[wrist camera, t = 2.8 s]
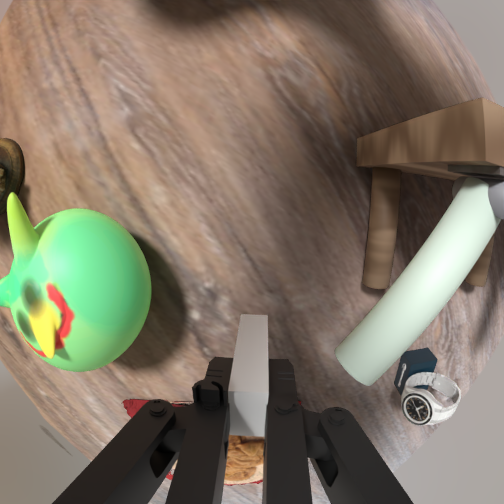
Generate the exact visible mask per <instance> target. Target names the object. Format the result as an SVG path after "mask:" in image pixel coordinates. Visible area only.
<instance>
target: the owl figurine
mask: <svg viewBox="0 0 504 504" xmlns="http://www.w3.org/2000/svg"><path fill="white" fill-rule="evenodd" d="M23 174H24V162H23V155H22V151H21V149H20V147H19V145H18V144H17V143H16V142H15V141H13V140H12V139H8V138H1V139H0V215H1V214H2V213H4V212H5V211H6V210H7V200H8V197H9V195H10V193H12V192H13V193H15V194H16V196H17V194H18V193H19V188H20V186H19V185H20V184H21V183H22V180H23Z"/></svg>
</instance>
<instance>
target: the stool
mask: <svg viewBox="0 0 504 504" xmlns="http://www.w3.org/2000/svg"><path fill="white" fill-rule="evenodd" d="M357 166H359V167H368V168H372V190H371V206H370V218H369V230H368V240H367V249H366V258H365V266H364V273H363V280H362V283H363V284H364V285H365V286H367V287H370V288H375V289H386V288H388V287H389V283H390V278H391V271H392V265H393V258H394V251H395V243H396V234H397V225H398V215H399V203H400V187H401V172H406V173H413V174H419V175H425V176H431V177H437V178H442V179H448V180H453V181H455V180H456V179H457V178H458V177H461V176H467V177H480V178H491V179H501V180H504V107H502V106H500V105H498V104H496V103H493V102H491V101H489V100H487V99H484V98H478V99H475V100H471V101H468V102H464V103H461V104H457V105H454V106H451V107H447V108H444V109H441V110H438V111H435V112H431V113H428V114H425V115H422V116H419V117H416V118H413V119H410V120H407V121H404V122H401V123H399V124H396V125H393V126H390V127H387V128H384V129H382V130H379V131H376V132H373V133H371V134H368V135H365V136H363V137H360V138H357ZM494 237H495V232H494V234H493V235H492V237H491V239H490V240H489V242H488V244H487V245H486V247H485V249H484V250H483V252H482V253H481V255H480V257H479V258H478V260H477V261H476V263H475V264H474V266H473V267H472V269H471V270H470V272H469V273H468V275H467V276H466V280H465V281H466V282H467V283H469V284H471V285H474V286H479V287H483V286H485V284H486V280H487V275H488V270H489V266H490V261H491V255H492V249H493V243H494Z"/></svg>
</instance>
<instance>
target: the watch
mask: <svg viewBox="0 0 504 504" xmlns="http://www.w3.org/2000/svg"><path fill="white" fill-rule="evenodd" d="M437 360H438V359H437V358H436V357H435V356H434V354H433V353H432V352H431V351H430V350H429V348H424V349H418V350H412V351H406V352H404V353H403V354H402V356H401V359H400V363H399V367H398V371H397V374H396V378H395V382H394V384H395V385H396V387H397V389H398V391H399V393H400V395H401V406H402V411H403V414H404V416H405V417H406V418H407V420H408V421H410V422H411V423H412V424H414V425H418V426H423V425H426V424H427V425H434V424H435V423H440V422H443V421H445V420H447V419H449V418H450V417H451V416H452V415H453V413H454V411H455V410H456V407H457V405H458V403H459V401H460V399H461V391H460V389H459V388H458V386H457V384H456V383H455V382H454V381H453V380H451V379H450V378H448V377H446V376H444V375H442V374H440V373H433V372H434V369H435V366H436V363H437ZM429 385H430V386H432V388H433V389H435V390H437V391H439V392H441V393H442V394H444V395H445V396H446V397H450V398H451V399H452V400H453V402H454V404H453V405H452V406H449V407H447V408H443V404H441V403H440V402H438V401H437V400H436V399H435V398H434V396H433V395H432V394H431V393H430V392H429V391H427V389H428V386H429Z"/></svg>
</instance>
